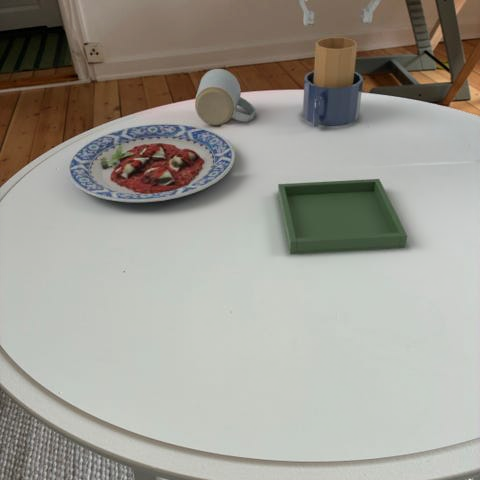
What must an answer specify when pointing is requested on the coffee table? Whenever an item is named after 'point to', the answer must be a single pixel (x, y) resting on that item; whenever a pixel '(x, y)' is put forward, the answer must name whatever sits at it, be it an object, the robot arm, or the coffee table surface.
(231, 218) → the coffee table surface
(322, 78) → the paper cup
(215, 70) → the ceramic mug
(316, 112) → the blue mug
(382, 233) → the green tray
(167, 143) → the ceramic plate
